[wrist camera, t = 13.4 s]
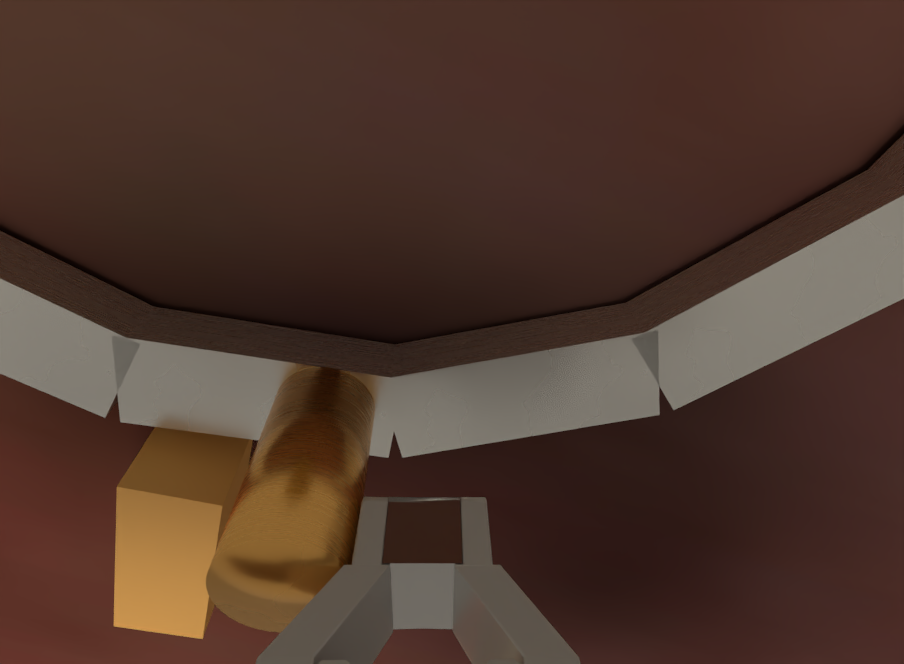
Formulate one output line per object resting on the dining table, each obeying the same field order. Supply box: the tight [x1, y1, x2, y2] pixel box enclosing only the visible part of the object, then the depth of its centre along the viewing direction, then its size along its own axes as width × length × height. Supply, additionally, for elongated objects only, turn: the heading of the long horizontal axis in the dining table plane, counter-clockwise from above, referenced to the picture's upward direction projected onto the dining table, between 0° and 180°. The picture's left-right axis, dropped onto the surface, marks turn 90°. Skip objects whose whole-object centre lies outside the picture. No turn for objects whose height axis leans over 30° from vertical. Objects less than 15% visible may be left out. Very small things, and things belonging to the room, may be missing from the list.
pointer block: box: [114, 427, 253, 639], centre depth 16 cm, size 6×2×3 cm, turn 163°
